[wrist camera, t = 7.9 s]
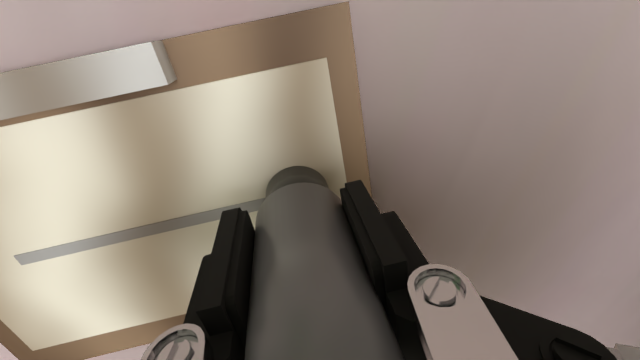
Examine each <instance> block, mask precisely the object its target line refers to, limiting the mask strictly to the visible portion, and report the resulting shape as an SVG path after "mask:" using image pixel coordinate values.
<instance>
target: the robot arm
mask: <svg viewBox="0 0 640 360" xmlns="http://www.w3.org/2000/svg"><path fill="white" fill-rule="evenodd" d="M340 195H341V201H342V206H343V209H344V212H345V214H346V217H347V219H348V222H349V225H350V227H351V230H352V232H353V235H354V237H355V240H356V243H357V245H358V248H359V250H360V253H361V256H362V258H363V261H364V263H365V266H366V269H367V271H368V274H369V276H370V279H371V282H372V284H373V287H374V289H375V292H376V294H377V295H378V297H379V298H380V300H381V302H382V304H383V306H384V309H385V311H386V314H387V316H388V319H389V321H390V324H391V327H392V329H393V332H394V334H395V337H396V339H397V342H398V344H399V347H400V349H401V352H402V354H403V357H404V360H640V348H638V347H632V346H627V345H621V344H615V347H614V349H613V348H608V347H605V346H604V345H603V344H601V343H600V342H598V341H597V340H595V339H594V338H592V337H591V336H589V335H587V334H585V333H582V332H580V331H578V330H576V329H573V328H570V327H567V326H564V325H562V324H559V323H556V322H553V321H550V320H547V319H545V318H542V317H539V316H536V315H533V314H530V313H528V312H525V311H522V310H519V309H516V308H513V307H511V306H508V305H505V304H502V303H499V302H496V301H494V300H491V299H488V298H485V297H482V296H479V294H478V292H477V291H476V289H475V288H474V286H473V284H472V283H471V281H470V280H469V279H468V278H467V276H466V275H465V274H463V273H462V272H460V271H459V270H457V269H455V268H453V267H450V266H447V265H442V264H429V263H428V262H427V260H426V259H425V257H424V256H423V254H422V253H421V251H420V249H419V248H418V246H417V245H416V243H415V242H414V240H413V239H412V237H411V236H410V234H409V233H408V231H407V229H406V228H405V226H404V225H403V223H402V222H401V220H400V219H399V217H398V216H397V214H396V213H395V212H393V211H392V212H388V213H383V214H380V212H379V210H378V208H377V207H376V205H375V203H374V201H373V200H372V198H371V196H370V194H369V193H368V191H367V189H366V187H365V186H364V184H363V182H362V181H361V180H356V181H352V182H348V183H345V188H340ZM254 237H255V230H254V227H253V224H252V221H251V218H250V216H249V213H248V211H247V210H245V211H242V210H241V208H240V207H239V208H234V209H230V210H226V211H222V214H221V218H220V222H219V225H218V229H217V233H216V237H215V241H214V244H213V248H212V252H211V254H208V255H205V256H204V257H203V259H202V261H201V265H200V268H199V272H198V275H197V278H196V282H195V285H194V289H193V292H192V295H191V299H190V302H189V306H188V309H187V312H186V316H185V319H184V323H183V324H181V325H177V326H175V327H173V328H170V329H168V330H167V331H165V332H164V333H162V334H161V335H159V336H158V337H157V338H156V339H155V340H154V341H153V342H152V343H151V344H150V345H149V347H148V348H147V350H146V351H145V352H144V354H143V356H142V358H141V360H245V347H246V335H247V323H248V311H249V298H250V286H251V274H252V262H253V249H254Z"/></svg>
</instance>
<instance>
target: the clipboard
mask: <svg viewBox="0 0 640 360" xmlns="http://www.w3.org/2000/svg"><path fill="white" fill-rule="evenodd" d="M292 166H305V167H309V168H312V169H314V170H316V171H317V172H319V173H320V174H321V175H322V176H323V177H324V178H325V180H326V182H327V184H328V187H329V189H330V190H331V191H333V192H334V193H335V194H336V195H337V196H338V197H339V198H340V200H341V195H340V188H345V183H348V182H352V181H356V180H361V181H362V182H363V184H364V186H365V187H366V189H367V191H368V193H369V194H370V196H371V198H372V194H371V186H370V177H369V169H368V160H367V152H366V143H365V135H364V127H363V118H362V110H361V101H360V93H359V85H358V76H357V68H356V59H355V51H354V43H353V34H352V26H351V17H350V9H349V1H348V2H344V3H339V4H334V5H329V6H324V7H319V8H315V9H310V10H305V11H300V12H295V13H290V14H286V15H281V16H276V17H271V18H266V19H261V20H257V21H252V22H247V23H242V24H237V25H232V26H228V27H223V28H218V29H213V30H208V31H203V32H199V33H194V34H189V35H184V36H179V37H174V38H170V39H165V40H159V41H153V42H148V43H143V44H138V45H133V46H128V47H123V48H119V49H114V50H109V51H104V52H99V53H94V54H90V55H85V56H80V57H75V58H70V59H65V60H61V61H56V62H51V63H46V64H41V65H36V66H32V67H27V68H22V69H17V70H12V71H7V72H3V73H0V343H1V344H2V345H3V346H5V347H6V348H7V349H8V350H9V351H10V352H11V353H12V354H13V355H14V356H15V357H17V358H18V359H19V360H84V359H88V358H92V357H96V356H100V355H104V354H108V353H112V352H116V351H120V350H124V349H129V348H133V347H137V346H141V345H145V344H149V343H152V342H153V341H154V340H155V339H156V338H157V337H158V336H159V335H161V334H162V333H164V332H165V331H167V330H168V329H170V328H173V327H175V326H177V325H181V324H183V323H184V319H185V316H186V312H187V309H188V306H189V302H190V299H191V295H192V292H193V289H194V285H195V282H196V278H197V275H198V272H199V268H200V265H201V261H202V259H203V257H204V256H205V255H208V254H211V252H212V248H213V244H214V241H215V237H216V233H217V229H218V225H219V222H220V218H221V214H222V211H226V210H230V209H234V208H239V207H240V208H241V210H242V211H245V210H247V211H248V213H249V216H250V218H251V221H252V224H253V227H254V230H255V225H256V216H257V212H258V210H259V208H260V206H261V204H262V203H263V201H264V200H265V197H266V188H267V185H268V183H269V181H270V180H271V179H272V177H273V176H274V175H275V174H277V173H278V172H279V171H281V170H283V169H285V168H288V167H292Z"/></svg>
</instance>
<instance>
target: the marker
mask: <svg viewBox="0 0 640 360" xmlns="http://www.w3.org/2000/svg"><path fill="white" fill-rule="evenodd" d="M245 360H404V357H403V354H402V352H401V349H400V347H399V344H398V342H397V339H396V337H395V334H394V332H393V329H392V327H391V324H390V321H389V319H388V316H387V314H386V311H385V309H384V306H383V304H382V302H381V300H380V298H379V297H378V295H377V294H376V292H375V289H374V287H373V284H372V282H371V279H370V276H369V274H368V271H367V269H366V266H365V263H364V261H363V258H362V256H361V253H360V250H359V248H358V245H357V243H356V240H355V237H354V235H353V232H352V230H351V227H350V225H349V222H348V219H347V217H346V214H345V212H344V209H343V206H342V201H341V200H340V198H339V197H338V196H337V195H336V194H335V193H334V192H333V191H331V190H330V189H329V187H328V184H327V182H326V180H325V178H324V177H323V176H322V175H321V174H320V173H319V172H317V171H316V170H314V169H312V168H309V167H305V166H292V167H288V168H285V169H283V170H281V171H279V172H278V173H277V174H275V175H274V176H273V177H272V179H271V180H270V181H269V183H268V185H267V188H266V197H265V200H264V201H263V203H262V204H261V206H260V208H259V210H258V212H257V216H256V225H255V237H254V249H253V262H252V274H251V286H250V298H249V311H248V323H247V335H246V347H245Z"/></svg>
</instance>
